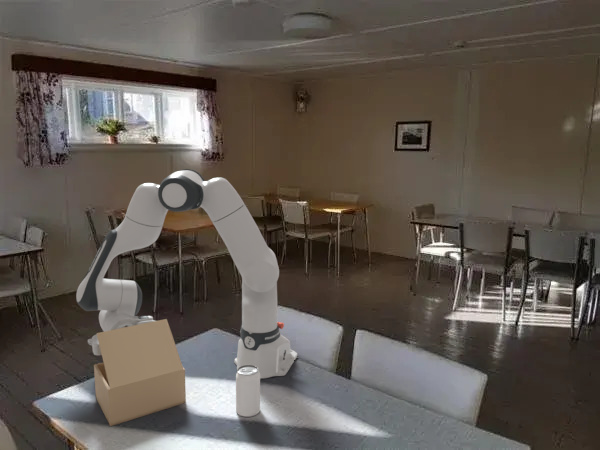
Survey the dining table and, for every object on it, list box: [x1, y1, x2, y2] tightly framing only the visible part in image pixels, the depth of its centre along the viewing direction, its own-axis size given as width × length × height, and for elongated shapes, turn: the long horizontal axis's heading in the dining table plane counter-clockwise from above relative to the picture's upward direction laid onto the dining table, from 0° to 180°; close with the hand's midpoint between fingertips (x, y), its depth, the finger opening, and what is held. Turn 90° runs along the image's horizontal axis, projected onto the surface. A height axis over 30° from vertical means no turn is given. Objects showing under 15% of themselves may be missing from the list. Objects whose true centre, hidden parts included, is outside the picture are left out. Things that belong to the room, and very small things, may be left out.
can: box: [235, 365, 261, 418], centre depth 126 cm, size 6×6×12 cm
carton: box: [93, 362, 187, 427], centre depth 131 cm, size 16×20×10 cm
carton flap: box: [96, 318, 184, 389], centre depth 127 cm, size 16×19×1 cm
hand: (137, 348), depth 130 cm, fingers closed
